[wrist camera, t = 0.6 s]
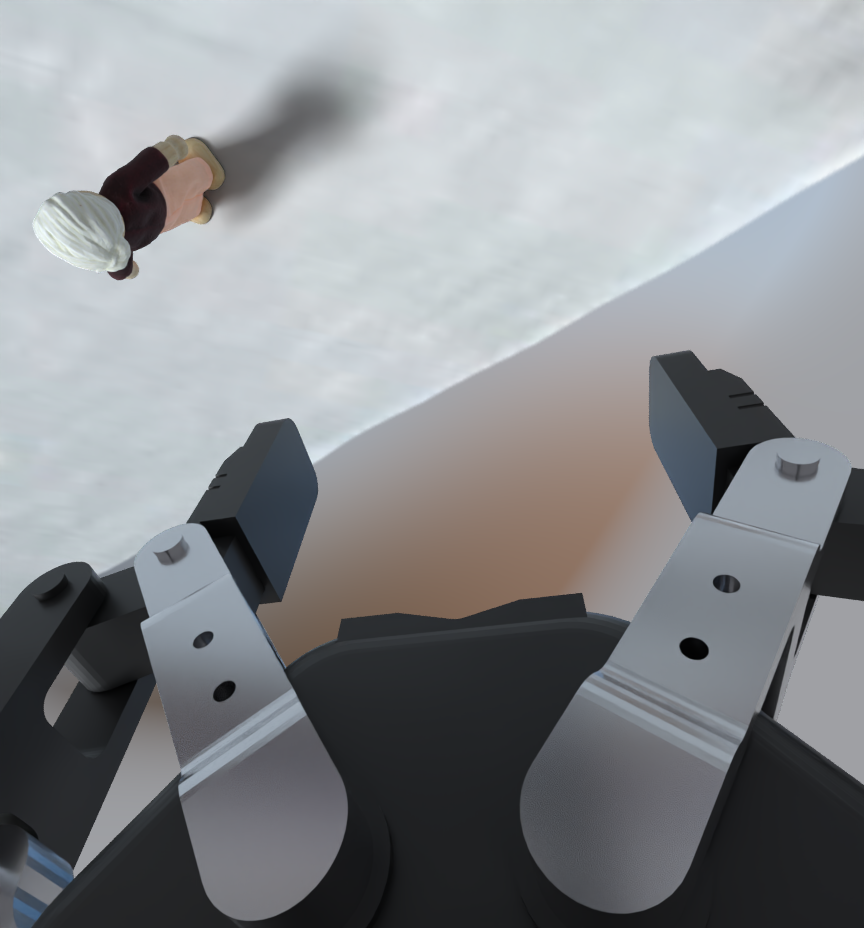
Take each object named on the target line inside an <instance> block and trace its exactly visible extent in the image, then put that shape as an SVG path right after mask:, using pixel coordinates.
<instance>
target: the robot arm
mask: <svg viewBox="0 0 864 928" xmlns="http://www.w3.org/2000/svg"><path fill="white" fill-rule="evenodd" d="M649 427H650V434H651V439H652V443H653V446H654V449H655V451H656V452H657V454H658V457H659V459H660V460H661V463H662V465H663V466H664V468H665V470H666V472H667V474H668V476H669V478H670V480H671V482H672V484H673V486H674V488H675V490H676V492H677V494H678V496H679V498H680V500H681V502H682V504H683V506H684V508H685V510H686V512H687V514H688V516H689V518H690V520H691V522H692V523H691V525H690V526H689V528H688V529H687V531H686V533H685V535H684V536H683V538H682V539H681V541H680V543H679V544H678V546H677V548H676V549H675V551H674V552H673V554H672V556H671V557H670V559H669V561H668V562H667V564H666V566H665V567H664V569H663V571H662V572H661V574H660V575H659V577H658V579H657V580H656V582H655V584H654V585H653V587H652V589H651V590H650V592H649V593H648V595H647V597H646V598H645V600H644V602H643V603H642V605H641V607H640V608H639V610H638V612H637V613H636V615H635V616H634V618H633V620H632V621H631V622H629V621H625V620H622V619H619V618H616V617H613V616H608V615H604V614H599V613H591V612H586V608H585V604H584V599H583V595H582V593H576V594H567V595H558V596H549V597H540V598H531V599H521V600H517V601H515V602H511V603H508V604H505V605H502V606H499V607H496V608H492V609H489V610H486V611H483V612H480V613H477V614H474V615H471V616H468V617H465V618H461V619H446V618H437V617H428V616H420V615H411V614H402V613H393V614H384V615H375V616H365V617H357V618H347V619H341V624H340V628H339V633H338V637H337V639H334V640H332V641H329V642H327V643H325V644H322V645H320V646H318V647H316V648H314V649H312V650H311V651H309V652H307V653H305V654H304V655H302V656H301V657H299V658H298V659H297V660H295V661H294V662H293V663H291V664H290V665H289V666H288V667H286V666H285V664H284V663H283V661H282V659H281V657H280V656H279V654H278V652H277V650H276V648H275V647H274V645H273V643H272V641H271V639H270V638H269V636H268V634H267V632H266V631H265V629H264V627H263V625H262V624H261V622H260V620H259V618H258V617H257V615H256V611H257V608H258V606H259V604H266V603H274V602H281V601H282V598H283V595H284V592H285V590H286V587H287V583H288V581H289V578H290V575H291V572H292V569H293V566H294V563H295V560H296V558H297V554H298V552H299V549H300V546H301V543H302V540H303V537H304V534H305V531H306V528H307V525H308V522H309V519H310V517H311V513H312V511H313V508H314V505H315V502H316V499H317V495H318V483H317V477H316V473H315V471H314V468H313V466H312V463H311V461H310V458H309V456H308V453H307V451H306V449H305V446H304V444H303V441H302V439H301V436H300V434H299V432H298V429H297V427H296V425H295V423H294V422H293V421H292V420H291V419H289V418H287V419H281V420H275V421H269V422H263V423H258V424H257V425H256V426H255V428H254V429H253V431H252V433H251V434H250V436H249V438H248V440H247V441H246V443H245V445H244V446H243V447H240V448H239V449H238V450H236V451H235V452H234V453H233V454H232V455H231V456H230V457H228V458H227V459H226V460H225V461H224V462H223V464H222V466H221V467H220V469H219V471H218V472H217V474H216V475H215V476H216V478H214V479H213V480H212V482H211V484H210V485H209V487H208V488H209V490H206V492H205V493H204V495H203V497H202V498H201V500H200V502H199V503H198V505H197V507H196V508H195V510H194V511H193V513H192V515H191V516H190V518H189V520H188V521H187V523H186V524H182V525H178V526H175V527H172V528H170V529H168V530H165V531H163V532H162V533H160V534H158V535H157V536H155V537H154V538H152V539H151V540H150V541H149V542H147V543H146V544H145V545H144V546H143V547H142V548H141V550H140V551H139V552H138V554H137V555H136V558H135V560H134V567H131V568H128V569H126V570H122V571H119V572H117V573H114V574H111V575H109V576H105V577H103V578H99V577H98V575H97V574H96V573H95V572H94V570H93V569H92V568H91V566H90V565H89V564H87V563H85V562H72V563H68V564H64V565H61V566H59V567H56V568H54V569H52V570H50V571H48V572H46V573H45V574H43V575H41V576H40V577H38V578H37V579H36V580H34V581H33V582H32V583H31V584H29V585H28V586H27V587H26V588H25V589H24V590H23V591H22V592H21V593H20V594H19V596H18V597H17V598H16V599H15V601H14V602H13V603H12V605H11V606H10V607H9V608H8V610H7V611H6V612H5V613H4V615H3V616H2V617H1V619H0V928H864V785H863V784H861V783H860V782H859V781H858V780H856V779H855V778H854V777H852V776H851V775H849V774H848V773H847V772H845V771H844V770H843V769H841V768H840V767H838V766H837V765H836V764H834V763H833V762H831V761H830V760H829V759H827V758H826V757H825V756H823V755H822V754H820V753H819V752H818V751H816V750H815V749H814V748H812V747H811V746H809V745H808V744H807V743H805V742H804V741H802V740H801V739H800V738H798V737H797V736H796V735H794V734H793V733H792V732H790V731H789V730H787V729H786V728H785V727H783V726H782V725H781V724H779V723H778V722H777V718H778V715H779V712H780V709H781V706H782V703H783V699H784V696H785V692H786V688H787V686H788V682H789V679H790V676H791V673H792V670H793V668H794V665H795V662H796V659H797V656H798V654H799V651H800V648H801V645H802V642H803V640H804V637H805V634H806V631H807V628H808V625H809V622H810V620H811V617H812V614H813V612H814V609H815V606H816V603H817V600H818V598H819V595H822V596H830V597H838V598H846V599H853V600H861V601H864V469H857V468H851V464H850V462H849V460H848V458H847V457H846V456H845V455H844V454H843V453H841V452H840V451H838V450H837V449H835V448H834V447H832V446H829V445H827V444H824V443H821V442H818V441H814V440H809V439H803V438H795V437H794V436H793V435H792V433H791V432H790V431H789V430H788V429H787V428H786V427H785V426H784V425H783V424H782V423H781V421H780V420H779V419H778V418H777V417H776V416H775V415H774V414H773V412H772V411H771V410H770V409H769V408H768V407H767V406H764V403H763V401H762V400H761V399H760V398H759V397H758V396H757V395H754V392H753V391H752V390H751V388H750V387H749V386H748V385H747V384H746V383H745V382H744V381H743V379H742V378H740V377H737V376H735V375H733V374H731V373H728V372H726V371H724V370H722V369H716V370H710V371H707V369H706V368H705V367H704V366H703V365H702V363H701V362H700V361H699V359H698V358H697V357H696V356H695V355H694V353H693V352H692V351H690V350H688V351H682V352H676V353H671V354H664V355H659V356H654V357H652V358H651V360H650V367H649ZM64 665H65V666H66V667H67V668H68V670H69V671H70V672H71V673H72V674H73V675H74V676H75V677H76V678H77V679H78V680H79V682H78V684H77V686H76V688H75V689H74V691H73V693H72V694H71V696H70V698H69V700H68V702H67V703H66V705H65V707H64V709H63V710H62V712H61V714H60V715H59V717H58V719H57V721H56V722H55V724H54V726H53V727H52V726H51V725H50V724H49V723H48V722H47V720H46V718H45V715H44V700H45V696H46V694H47V692H48V690H49V688H50V687H51V685H52V683H53V682H54V680H55V679H56V677H57V675H58V674H59V672H60V670H61V669H62V667H63V666H64ZM156 683H157V686H158V690H159V693H160V697H161V700H162V704H163V708H164V711H165V715H166V718H167V722H168V725H169V729H170V733H171V736H172V739H173V743H174V746H175V750H176V754H177V757H178V761H179V764H180V768H181V772H180V773H179V775H177V776H176V777H175V778H174V780H172V781H171V782H170V783H169V784H168V785H167V786H166V787H165V788H164V789H163V790H162V791H161V792H160V793H159V794H158V796H156V797H155V798H154V799H153V800H152V801H151V803H149V804H148V805H147V806H146V807H145V808H144V809H143V810H142V811H141V812H140V814H138V815H137V816H136V817H135V818H134V819H133V820H132V821H131V822H130V823H129V824H128V825H127V826H126V827H125V828H124V829H123V830H122V831H121V833H119V834H118V835H117V836H116V837H115V838H114V840H112V842H110V843H109V844H108V845H107V846H106V847H105V848H104V849H103V850H102V851H101V852H100V853H99V854H98V855H97V856H96V858H94V860H92V861H91V862H90V863H89V864H88V865H87V867H85V868H84V869H83V871H82V872H80V873H79V874H78V875H77V876H76V878H74V875H73V870H74V867H75V865H76V863H77V861H78V858H79V856H80V854H81V852H82V849H83V847H84V845H85V842H86V840H87V838H88V836H89V834H90V831H91V829H92V827H93V824H94V822H95V820H96V818H97V815H98V813H99V811H100V809H101V806H102V804H103V802H104V799H105V797H106V795H107V793H108V791H109V788H110V786H111V784H112V782H113V779H114V777H115V775H116V772H117V770H118V768H119V766H120V763H121V761H122V759H123V757H124V755H125V752H126V750H127V748H128V745H129V743H130V741H131V738H132V736H133V734H134V732H135V730H136V727H137V725H138V723H139V721H140V718H141V716H142V714H143V712H144V709H145V707H146V705H147V702H148V700H149V698H150V696H151V693H152V691H153V689H154V687H155V685H156Z"/></svg>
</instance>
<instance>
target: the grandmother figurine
mask: <svg viewBox="0 0 864 928" xmlns="http://www.w3.org/2000/svg"><path fill="white" fill-rule="evenodd" d="M177 160H178V163H179V164H178V165H175V164H176V162H177ZM173 165H175V166H173ZM224 179H225V174H224V170H223V168H222V167H221V165H220V164H219V162H218V161H217V160H216V158H215V157H214V156H213V154H212V153H211V152H210V150H209V149H208V148H207V146H206V145H205V144H204V143H203V142H201V141H200V140H198V139H196V138H189V139H186V140H184V139H183V138H181V137H180V136H177V135H171V136H169V137H167V139H166V140H165V142H159V143H157V144H155V145H154V146H152V147H147V148H146V149H144V150H142V151H141V152H140V153H139V154H138V155H137V156H136V157H135V158H134V159H133V160H132V161H130V162H129V163H128V164H127V165H125V166H123V167H121V168H119V169H118V170H117V171H115V172H114V173H112V174H111V175H110V176H108V177H107V178H106V180H105V181H104V183H103V186H102V188H101V190H100V192H99V194H97V193H94V192H91V191H69V192H67V193H62V192H59V193H56V194H55V195H53V196H52V197H51V198H49V199H47V200H46V201H44V202H43V204H42V205H41V207H40V208H39V211H38V214H37V215H36V217H35V219H34V221H33V229H34V231H35V234H36V236H37V237H38V239H39V241H40V242H41V243H42V244H43V245H44V246H45V248H46V249H47V250H48V251H49V252H51V253H52V254H53V255H55V256H56V257H58V258H60V259H62V260H64V261H66V262H67V263H69V264H71V265H73V266H75V267H78V268H82V269H86V270H90V271H96V273H101V272H105V271H107V272H108V274H109V275H110V276H111V277H112V278H114V279H116V280H123V279H125V278H126V279H133V278H135V277H136V276H137V275H138V273H139V268H138V265H137V264H136V262H135V261H133V251H136V250H138V249H141V248H143V247H145V246H147V245H148V244H150V243H151V242H152V241H153V240H155V239H156V238H157V237H158V235H159V234H161V233H163V232H166V231H169V230H171V229H173V228H175V227H177V226H179V225H181V224H184V223H186V222H188V221H192V222H195V223H197V224H205V223H207V222H208V221H209V220H210V217H211V213H212V208H211V205H210V203H209V201H208V200H207V199H206V198H205V197H203V193H204V192H205V191H206V190H207V189H210V190H216V189H218V188H219V187H220V186H221V185H222V184H223V182H224Z"/></svg>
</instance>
